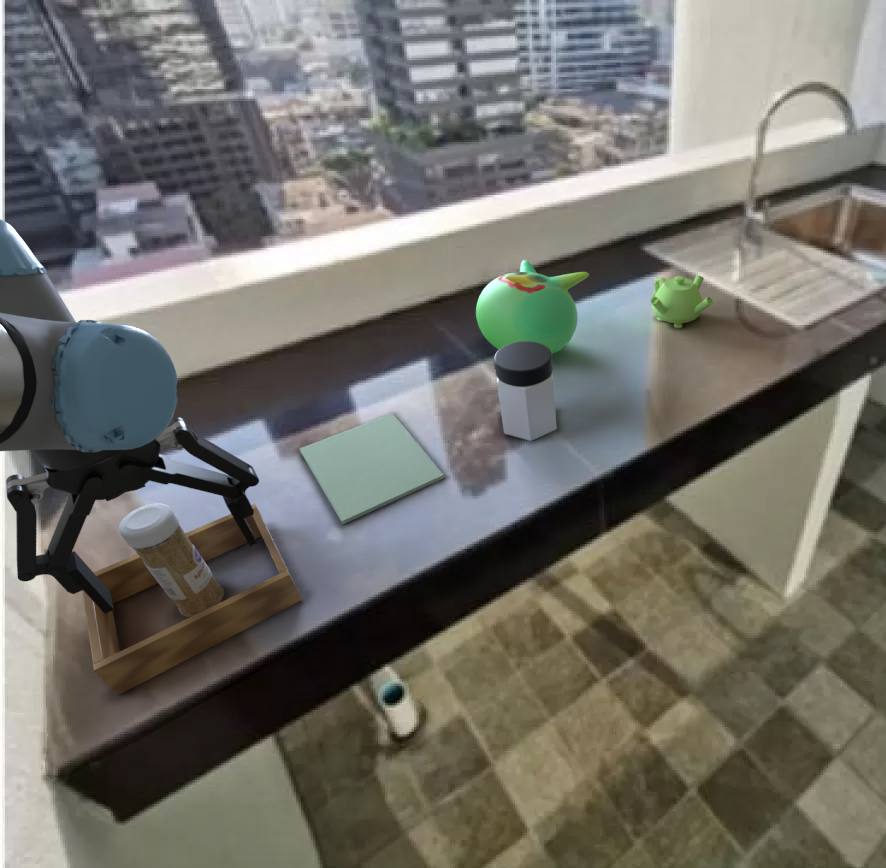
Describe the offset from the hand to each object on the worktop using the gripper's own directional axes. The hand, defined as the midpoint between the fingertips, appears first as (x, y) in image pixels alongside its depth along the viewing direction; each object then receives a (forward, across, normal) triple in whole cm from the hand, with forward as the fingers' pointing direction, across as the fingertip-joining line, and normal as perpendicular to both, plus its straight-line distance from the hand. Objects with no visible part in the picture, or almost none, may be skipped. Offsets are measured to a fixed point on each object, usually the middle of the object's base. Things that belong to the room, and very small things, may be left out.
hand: (182, 568), depth 64 cm
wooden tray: (+5, 0, 0) cm, 5 cm away
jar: (+6, -46, -4) cm, 46 cm away
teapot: (+6, -86, -13) cm, 88 cm away
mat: (+6, -23, -10) cm, 26 cm away
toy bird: (+6, -58, -22) cm, 63 cm away
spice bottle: (+6, 0, 0) cm, 6 cm away
